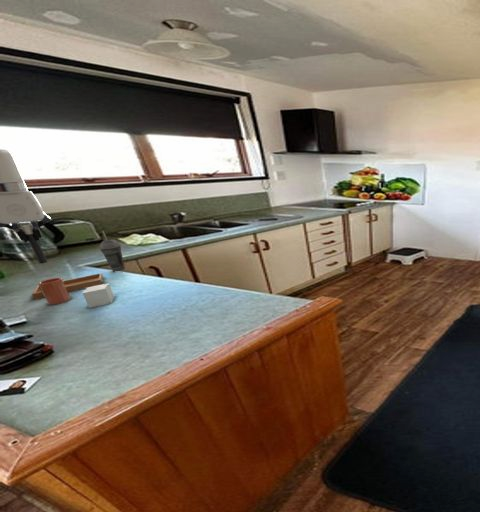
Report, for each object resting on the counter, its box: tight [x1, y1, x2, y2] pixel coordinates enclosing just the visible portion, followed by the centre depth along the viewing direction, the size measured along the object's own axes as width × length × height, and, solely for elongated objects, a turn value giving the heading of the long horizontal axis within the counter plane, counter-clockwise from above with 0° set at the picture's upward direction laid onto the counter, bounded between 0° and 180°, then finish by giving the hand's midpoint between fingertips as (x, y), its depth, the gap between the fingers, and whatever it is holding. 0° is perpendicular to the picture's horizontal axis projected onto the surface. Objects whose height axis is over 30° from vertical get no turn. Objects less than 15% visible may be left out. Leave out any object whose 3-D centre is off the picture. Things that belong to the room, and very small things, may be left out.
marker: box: [21, 224, 48, 264], centre depth 98 cm, size 2×2×14 cm
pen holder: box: [37, 277, 72, 305], centre depth 102 cm, size 6×6×8 cm
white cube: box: [82, 282, 115, 309], centre depth 101 cm, size 6×6×6 cm
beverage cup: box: [99, 230, 126, 273], centre depth 131 cm, size 7×7×20 cm
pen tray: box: [31, 272, 104, 300], centre depth 115 cm, size 19×10×2 cm, turn 134°
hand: (33, 240), depth 97 cm, fingers closed on marker, 2 cm apart
